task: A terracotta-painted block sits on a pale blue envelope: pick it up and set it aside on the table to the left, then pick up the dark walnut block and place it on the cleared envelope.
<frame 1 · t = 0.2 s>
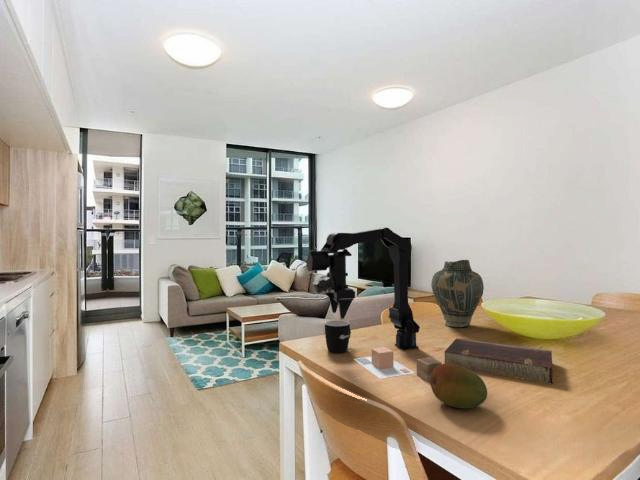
hand: (338, 315, 126), 14 cm above the table, fingers open, 9 cm apart
vase: (456, 325, 168), on the table
walnut block: (429, 377, 108), on the table
hardback book: (498, 366, 118), on the table
fruit: (458, 405, 91), on the table
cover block: (382, 365, 117), resting on envelope
envelope: (382, 366, 117), on the table
mug: (340, 350, 134), on the table
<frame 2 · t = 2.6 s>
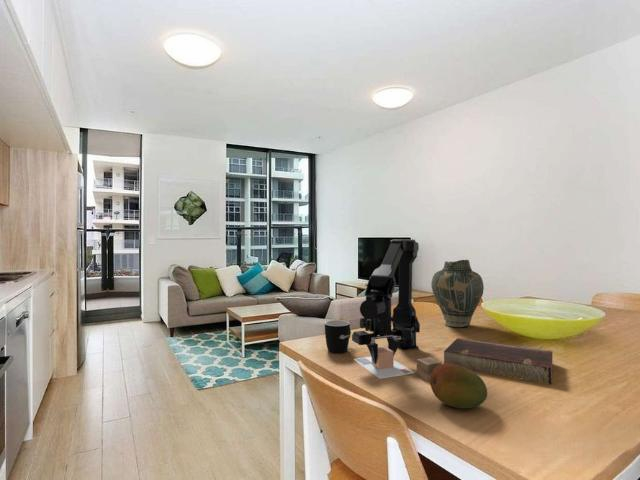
hand: (382, 362, 117), 1 cm above the table, fingers closed on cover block, 5 cm apart
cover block: (382, 365, 117), resting on envelope, touching gripper
everything else where it was.
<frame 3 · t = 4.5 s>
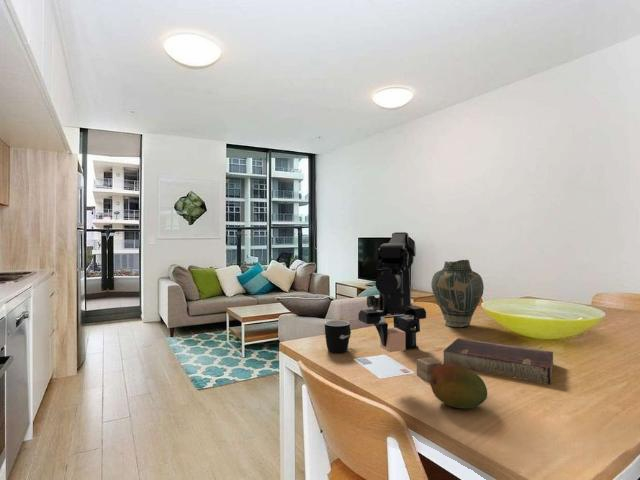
hand: (392, 345, 104), 11 cm above the table, fingers closed on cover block, 5 cm apart
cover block: (392, 348, 104), point 10 cm above the table, touching gripper
everything else where it was.
when the fingers open (2 cm above the table, at t = 6.4 s): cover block drops 1 cm, on the table.
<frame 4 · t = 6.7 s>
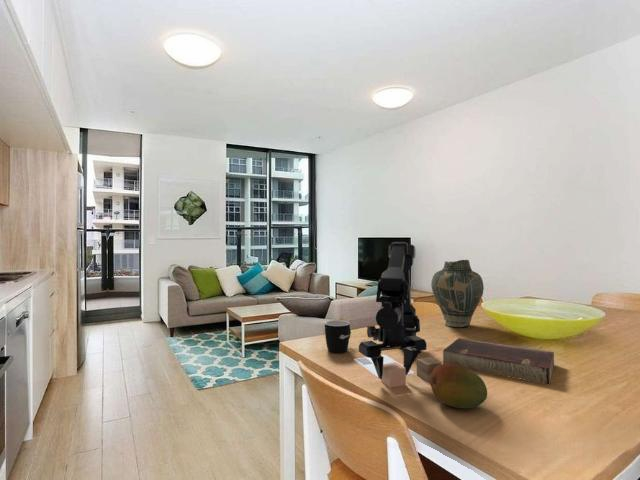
hand: (393, 376, 104), 2 cm above the table, fingers open, 8 cm apart
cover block: (393, 384, 104), on the table
everything else where it was.
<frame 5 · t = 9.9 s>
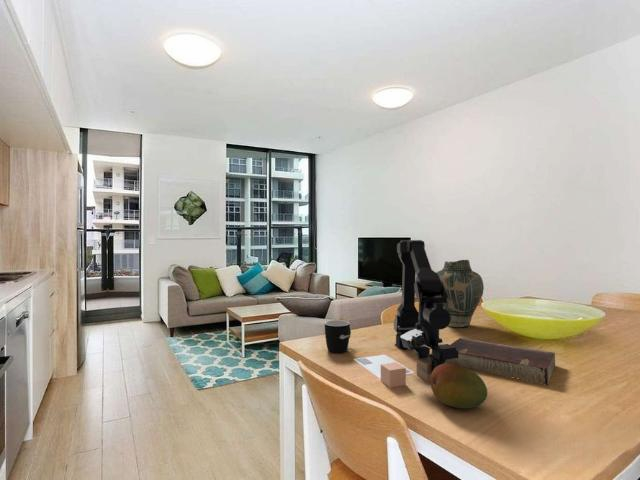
hand: (429, 373, 108), 1 cm above the table, fingers closed on walnut block, 5 cm apart
walnut block: (429, 377, 108), on the table, touching gripper
everything else where it was.
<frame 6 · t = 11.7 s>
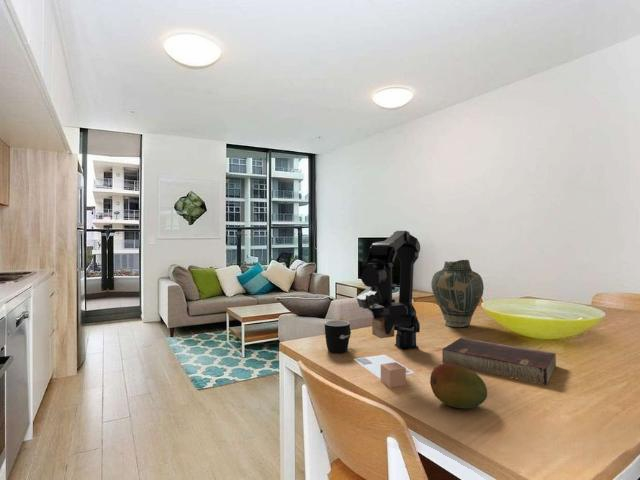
hand: (383, 332, 117), 11 cm above the table, fingers closed on walnut block, 5 cm apart
walnut block: (383, 335, 117), point 10 cm above the table, touching gripper
when the fingers open (2 cm above the table, at t = 13.8 s): walnut block stays where it is, resting on envelope.
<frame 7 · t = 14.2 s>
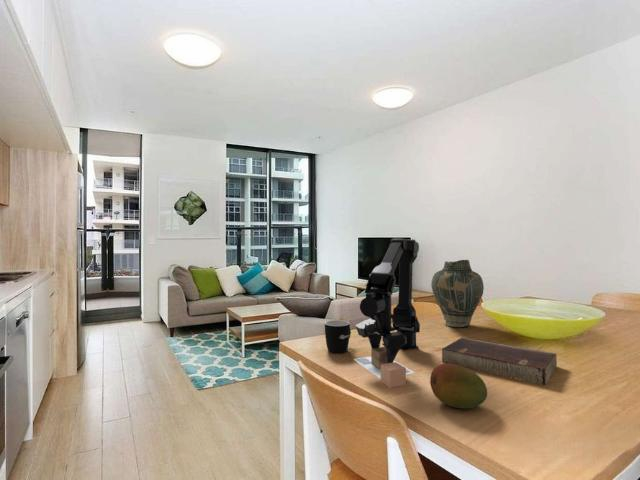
hand: (382, 359, 117), 2 cm above the table, fingers open, 9 cm apart
walnut block: (382, 365, 117), resting on envelope
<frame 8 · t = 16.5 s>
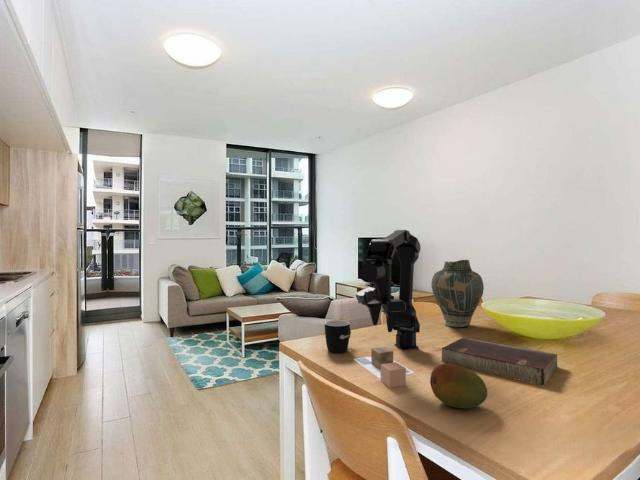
hand: (382, 328, 117), 12 cm above the table, fingers open, 9 cm apart
at the end: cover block inside the target area (0.5 cm from its centre), on the table; walnut block inside the target area on the envelope (0.0 cm from its centre), point 0.2 cm above the envelope's base; walnut block tilted 0° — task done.
